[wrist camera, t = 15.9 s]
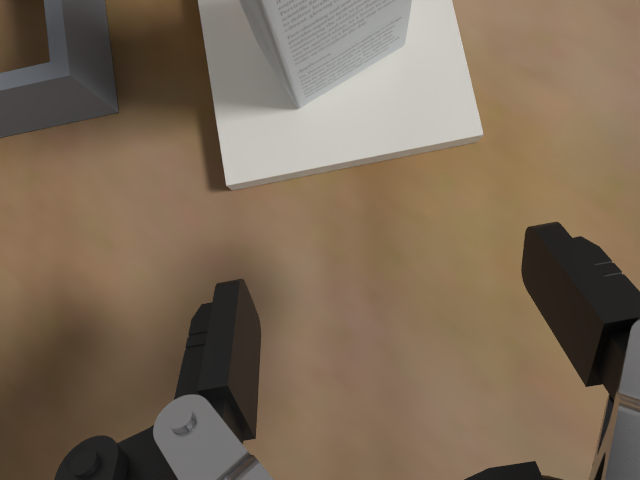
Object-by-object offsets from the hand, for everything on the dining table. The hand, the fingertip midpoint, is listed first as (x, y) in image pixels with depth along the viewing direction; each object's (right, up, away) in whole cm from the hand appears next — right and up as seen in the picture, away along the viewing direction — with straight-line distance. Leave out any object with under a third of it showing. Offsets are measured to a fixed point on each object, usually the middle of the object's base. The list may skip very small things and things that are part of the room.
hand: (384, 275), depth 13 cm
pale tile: (-1, +10, +10) cm, 14 cm away
